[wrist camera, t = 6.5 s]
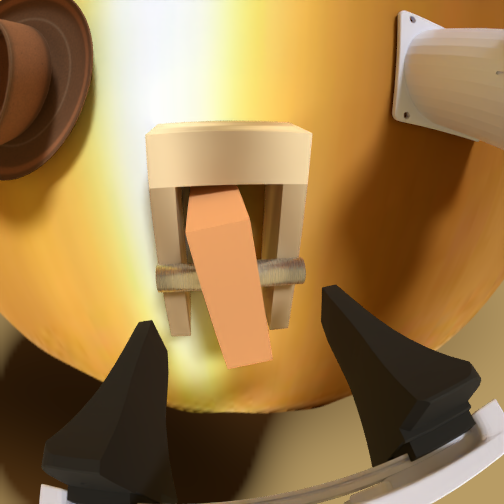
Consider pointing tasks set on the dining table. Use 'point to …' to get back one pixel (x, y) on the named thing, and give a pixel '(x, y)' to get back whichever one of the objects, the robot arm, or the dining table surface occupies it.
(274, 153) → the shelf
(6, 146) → the cup and saucer
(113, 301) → the dining table surface
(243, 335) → the orange long block
